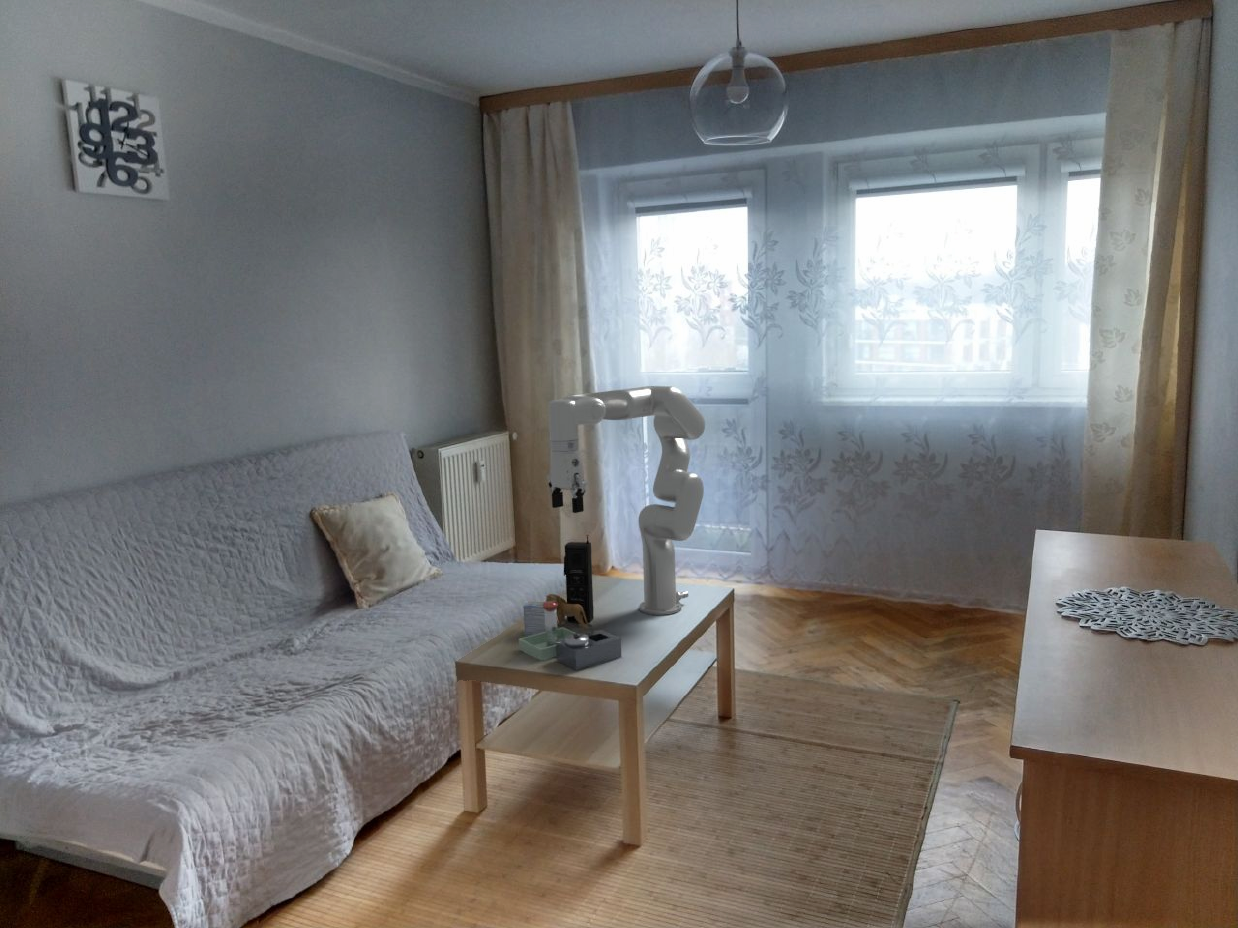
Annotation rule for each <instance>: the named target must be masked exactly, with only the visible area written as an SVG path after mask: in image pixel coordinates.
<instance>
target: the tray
mask: <svg viewBox="0 0 1238 928" xmlns="http://www.w3.org/2000/svg"><path fill="white" fill-rule="evenodd" d="M576 633H577V632H575V631H572V630H570V629H569V628H565V627H558V641H561V640H565V637H566V636H568V635H571V634H576ZM518 649H519V651H521V652H523V653H525V654H526V655H529V656H530V657H533V658H534V659H537V660H538V661H541V662H542V660H543V661H546V660H549V658H550V659H552V658H556V645H553V646H550V647H546V632H543V633H539V634H536V635H532V636H525V637H524V636H523V637H520V638H518Z"/></svg>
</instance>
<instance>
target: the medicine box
mask: <svg viewBox="0 0 1238 928" xmlns="http://www.w3.org/2000/svg"><path fill="white" fill-rule="evenodd" d="M544 602H545V601H544ZM544 602H543V601H542V602H541V601H528V602H527V603H525V605H524V606H522V607H523V621H524V622H523V623H524V625H523V626H524V635H525V637H528V636H532V635H536V634H539V633H543V632H546V630H545V610H544V608H543V603H544Z"/></svg>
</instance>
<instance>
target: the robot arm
mask: <svg viewBox="0 0 1238 928" xmlns="http://www.w3.org/2000/svg"><path fill="white" fill-rule="evenodd" d="M547 407H548V412H547V413H548V425H549V427H548V428H549V445H550V448H549V449H550V459H549V461H550V463H549V465H550V466H549V468H550V469H549V474H547V476H546V479H547V481H548V486H549V488H550V490H549V492H550V493H551V507H552V508H553V509H558V508H562V507H563V506H564V495H563V491H562V490H565V491H570V493H571V496H572V498H571V504H572V505H571V508H572V510H571V511H572V513H574V514H577V513H582V512H584V497H585V493H586V490H587V489H586V488H587V485H588V483H587V481H586V480H585V473H584V465H583V459H582V455H581V451H580V447H579V445H580V444H579V428H578V427H579V426H581V425H586V426H587V425H588V426H592V425H594V426H595V425H597V424H599V423H601V422H602V421H604V420H607V421H627V420H632V419H636V418H637V419H638V418H645V417H650V416H654V417H653V429H654V431H655V433H656V435H657V437H658V439H659V442H660V444H661V456H660V461H659V464H658V467H657V471H656V474H655V478H654V482H653V485H652V486H653V487H652V493H653V495H654V497H655V498H656V499H658V500H659V501H663V502H666V503H667V502H668V503H674V506H670V505H664V504H657V503H655V504H649V505H646V506H644V507H643V508H642V509H641V511H640V513H639V514H638V515H639V516H638V520H637V521H638V528H639V532H640V537H641V543H642V568H643V573H642V574H643V599H644V601H643V602H641V603H640V604H639V606H638V607H639V608H638V609H639V610H640V611H641V612H642V613H644V614H648V615H655V616H657V615H658V616H659V615H661V616H662V615H671V614H675V613H678V612H679V611H681V610H682V603H681V602H680V601H681V600H682V599H686V598H688V597H689V592H688V591H687V590H684V591H682V592H680V591H677V583H676V582H677V580H676V579H677V578H676V574H677V573H676V550H675V545H674V543H673V541H675V542H684V541H687V540H688V539H689V538H690V537H691V535H692V534H693V532H694V530H695V527H696V523H697V520H698V517H699V512H700V509H701V505H702V502H703V499H704V498H703V497H704V494H705V492H704V490H705V487H704V483H703V480H702V477H700V476H699V475H698V474H697V473H694V472H692V471H690V472H689V471H688V469H689V464H690V460H691V453H690V448H689V446H688V443H687V441H686V440H690V441H691V440H692V441H693V440H696V439H700V438H701V436H702V435H703V434H704V432H705V430H706V421H705V418H704V415H703V414H702V413H701V412H700V410H699V409H698V408H697V407H696V405H695V404H694V403H693V402H692V401H691V400H690V399H689V398H688V397H687V395H685V394H684V392H682V391H681V390H680V389H678V388H676V387H674V386H667V385H666V386H665V385H661V386H660V385H649V386H648V385H647V386H646V385H645V386H639V387H633V388H623V389H615V390H614V389H613V390H607V391H606V390H605V391H599V392H589V393H579V394H572V395H567V396H565V397H563V398H562V399H561V398H560V399H553V400H551V401H550V402H549V403H548V405H547Z"/></svg>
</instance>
